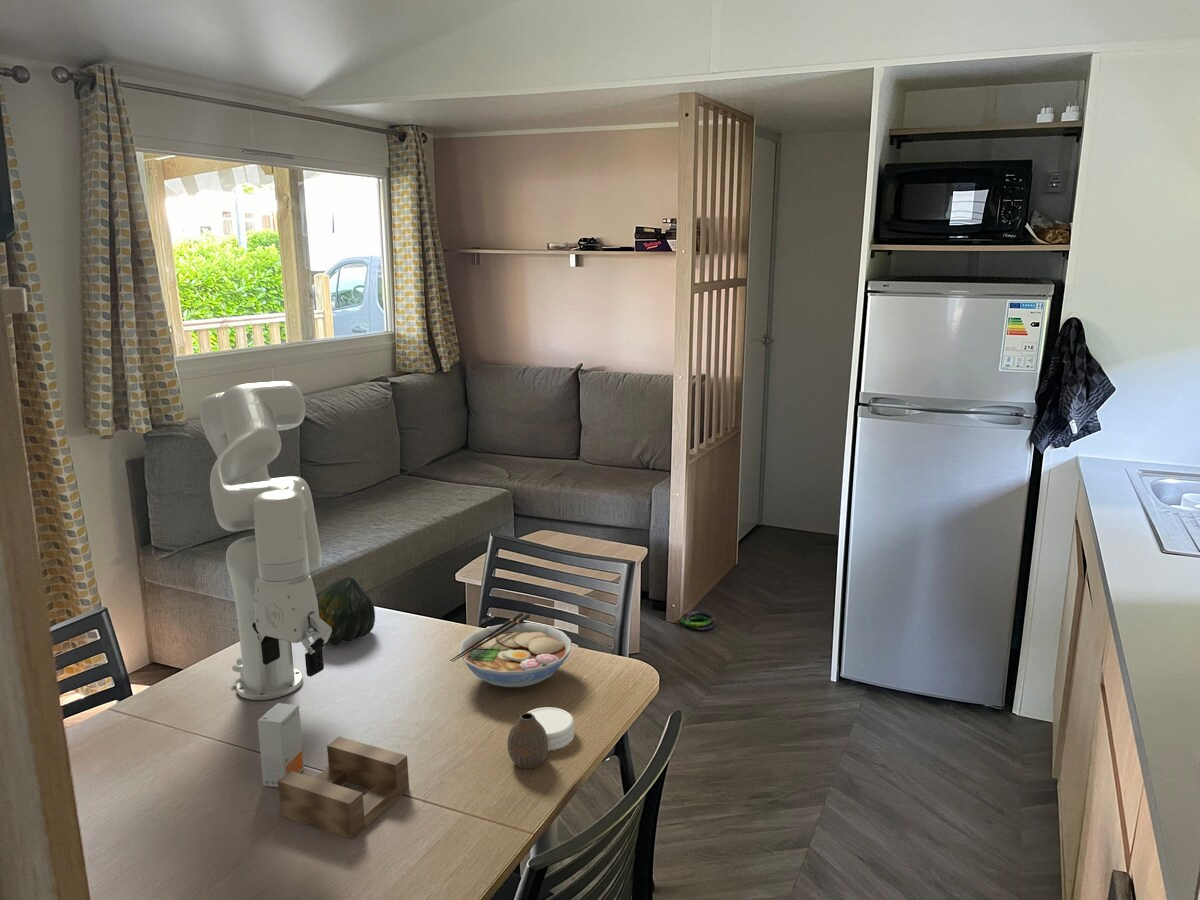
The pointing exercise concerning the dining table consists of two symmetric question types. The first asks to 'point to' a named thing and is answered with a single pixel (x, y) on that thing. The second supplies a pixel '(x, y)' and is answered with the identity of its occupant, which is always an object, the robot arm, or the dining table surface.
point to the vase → (527, 742)
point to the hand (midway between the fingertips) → (293, 667)
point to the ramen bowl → (515, 652)
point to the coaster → (555, 726)
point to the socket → (342, 806)
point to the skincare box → (280, 743)
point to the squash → (346, 610)
